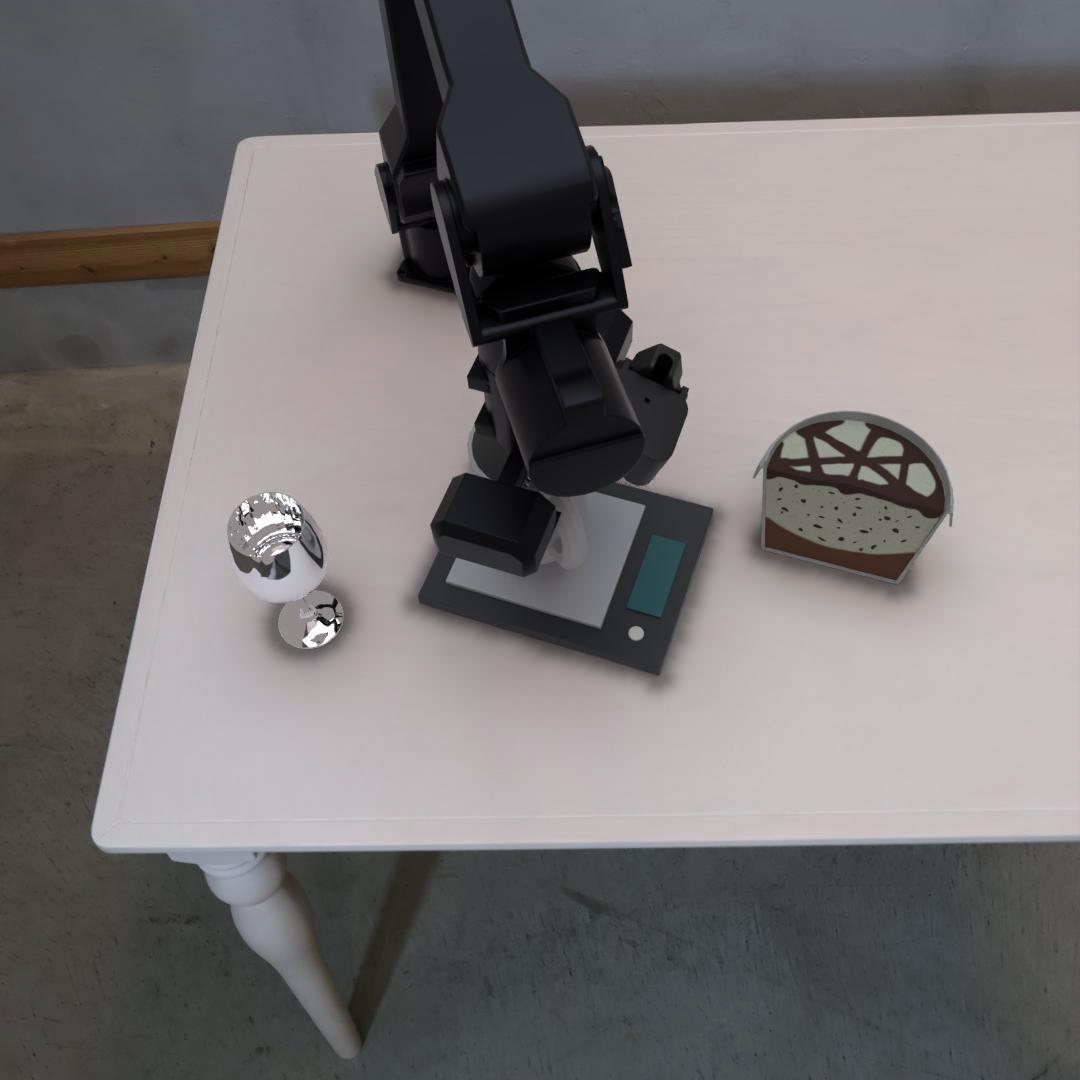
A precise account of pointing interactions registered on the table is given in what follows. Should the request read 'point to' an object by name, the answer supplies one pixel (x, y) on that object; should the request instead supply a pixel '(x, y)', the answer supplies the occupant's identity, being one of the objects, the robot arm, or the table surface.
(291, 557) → the wineglass
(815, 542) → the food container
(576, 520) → the cup
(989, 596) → the table surface
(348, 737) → the table surface
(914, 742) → the table surface
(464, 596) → the scale
